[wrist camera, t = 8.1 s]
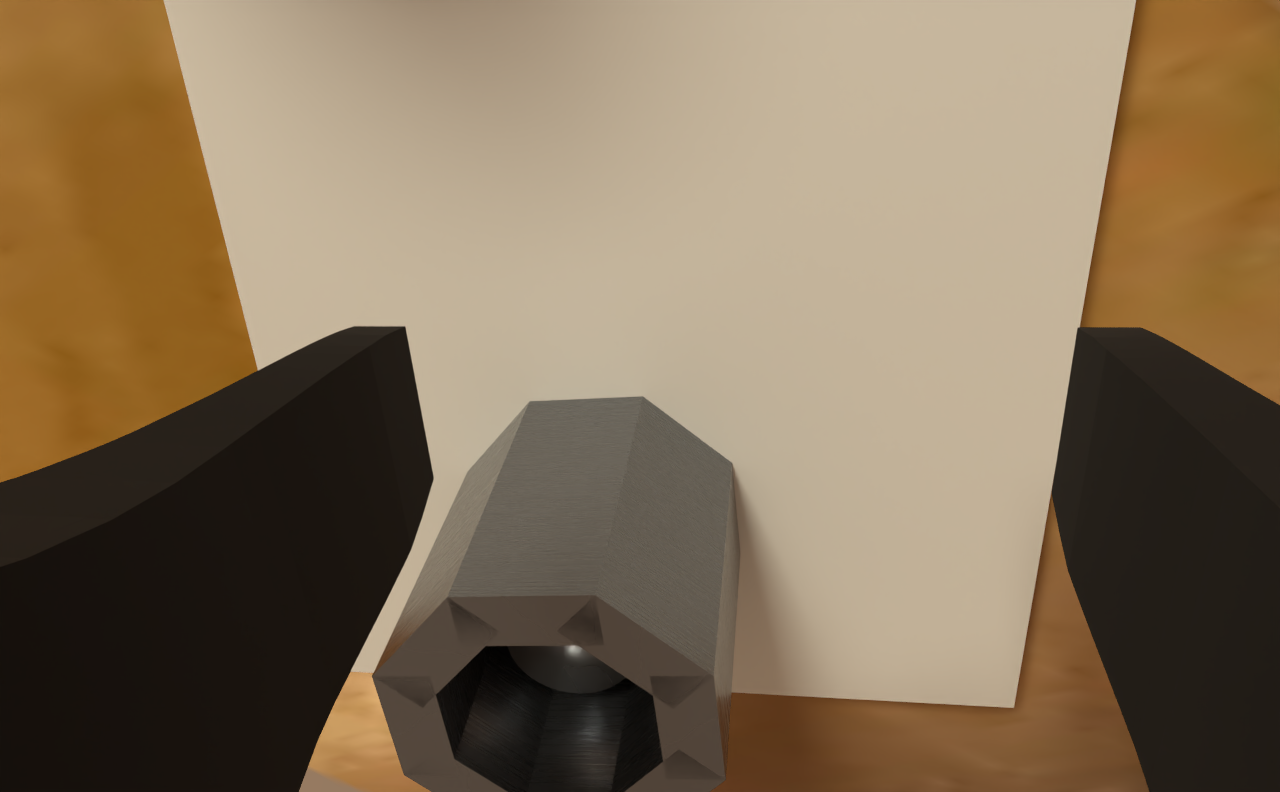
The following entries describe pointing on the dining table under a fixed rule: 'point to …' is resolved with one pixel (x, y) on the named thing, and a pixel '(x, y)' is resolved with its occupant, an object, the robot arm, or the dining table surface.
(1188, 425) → the robot arm
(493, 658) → the gray faceted cup
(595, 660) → the cylinder
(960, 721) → the dining table surface
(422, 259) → the board
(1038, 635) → the dining table surface
